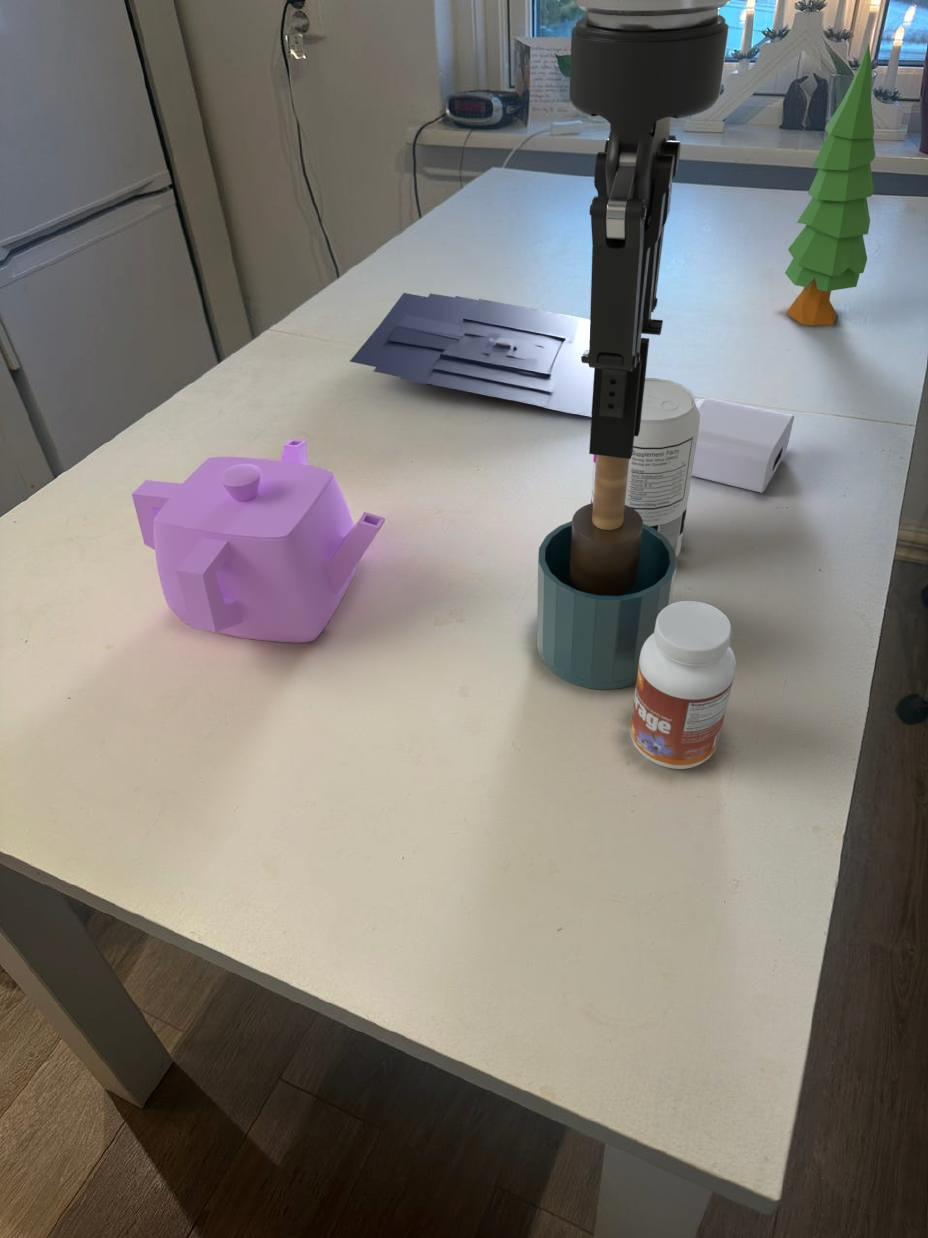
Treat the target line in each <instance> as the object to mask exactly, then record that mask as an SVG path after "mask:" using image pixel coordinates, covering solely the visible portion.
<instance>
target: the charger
mask: <svg viewBox="0 0 928 1238" xmlns="http://www.w3.org/2000/svg"><path fill="white" fill-rule="evenodd" d="M695 404H696V406H697V408H698V411H699V413H700V415H701V416H700V424H699V431H698V437H697V444H696V451H695V457H694V464H693V470H692V477H695V478H699V479H703V480H708V481H711V482H715V483H716V482H717V483H719V484H720V483H721V484H725V485H728V486H733V487H735V488H736V487H737V488H741V489H743V490H748V491H752V492H756V493H759V494H760V493H761V494H763V493H764V492H765V490H766V488H767V487H768V485H769V483H770V481H772V478H773V476H774V475H775V473H776V471H777V469H778V468H779V466H780V464H781V462H782V460H783V458H784V456H785V455H786V451H787V450H788V446H789V441H790V437H791V432H792V429H793V425H794V421H795V415H793V414H789V413H785V412H784V413H783V412H779V411H774V410H769V409H765V408H760V407H755V406H750V405H745V404H741V403H736V402H732V401H727V400H722V399H717V398H713V397H706V398H703V399H701V400H697V401H695Z"/></svg>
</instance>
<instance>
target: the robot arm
mask: <svg viewBox="0 0 928 1238" xmlns="http://www.w3.org/2000/svg"><path fill="white" fill-rule="evenodd" d="M731 1H732V0H573V2H574V4H575V5H576V7H577V8H578V9H579V10H581V11H584V12H585V15H586V16H585V17H581V18H580V19H578V20H577V22H576V23H575V26H574V27H572V29H571V36H570V37H571V39H570V67H569V68H570V69H569V101H570V102H571V104H572V106H573V107H574V108H575V109H576V110H577V111H579V112H581V113H582V114H585V115H587V116H590V117H601V118H603V119H605V120H606V121H607V122H608V123H609V125H610V126H609V127H610V128H609V129H610V131H609V135H608V138H607V139H606V141H605V145H604V151H598V152H597V154H596V158H595V164H594V165H595V167H594V177H593V183H594V185H593V186H594V188H595V190H596V192H597V195H596V196H595V195H594V196H593V198H592V201H591V204H590V205H589V216H590V224H591V225H590V226H591V244H592V250H591V280H590V281H591V282H590V315H589V320H590V343H589V349H586V350H585V351H584V353H583V355H582V363H588V365H589V367H592V368H594V383H593V400H592V416H591V417H590V419H591V420H590V432H589V433H590V434H589V449H588V450H589V451H588V454H589V455H593V456H594V455H602V456H610V457H618V458H626V459H631V456H632V453H633V444H634V436H638V435H639V432H640V424H641V414H642V405H643V395H644V385H645V378H646V375H647V364H648V356H649V355H648V354H649V347H650V338H648V337H642V334H644V335H653V336H661V334H662V329H663V324H664V323H663V322H664V320H663V319H656V318H655V319H654V318H652V313H654V312H655V310H656V308H657V306H658V298H657V293H658V283H659V275H660V268H661V258H662V251H663V241H664V232H665V226H666V223H667V220H668V218H669V214H670V211H671V210H670V209H671V200H672V190H673V181H674V180H673V179H674V178H675V176H676V173H677V171H678V168H679V165H680V156H681V147H682V145H681V144H682V143H681V141H680V140H677V135H675V134H671V133H670V132H671V123H672V122H671V121H672V118H673V119H677V120H678V119H683V118H689V117H693V116H695V115H699V114H701V113H704V112H706V111H707V110H709V109H711V108H712V107H713V106H714V105H715V104H716V103H717V101H718V100H719V98H720V94H721V89H722V81H723V75H724V74H723V73H724V67H725V58H726V52H727V43H728V37H729V28H730V26H729V24H728V23H726V18H725V17H724V16H723V15H721V14H720V9H721V8H724V7H725V6H726V5H727V4H728V3H730V2H731ZM642 318H643V323H642ZM641 327H642V334H641ZM640 336H641V344H640ZM639 346H640V353H639Z"/></svg>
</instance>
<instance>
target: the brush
mask: <svg viewBox="0 0 928 1238" xmlns="http://www.w3.org/2000/svg"><path fill="white" fill-rule="evenodd" d="M642 323H643V318H642ZM641 338H642V327H641V336H640V344H641ZM639 353H640V346H639ZM628 468H629V459H626V458H618V457H610V456H602V455H596V468H595V483H594V498H593V503H591V502H590V503H588V504H585V505H583V506H581V507H579V508H578V509H577V510H576V511H575V513H574V514H573V516H572V520H571V521H572V536H571V556H570V579H571V581H572V583H573V584H574V586H575V587H576V588H578V589H579V590H580V591H582V592H585V593H590V594H594V595H599V596H618V595H621V594H624V593H626V592H627V591H629V590H630V589H631V588H632V587H633V586H634V585H635V583H636V581H637V573H638V564H639V556H640V547H641V539H642V530H643V520H642V518H641V516H640V514H639V513H638V512H637V511H636V510H634V509H633V508H631V507H629V506H627V505H625V499H626V488H627V478H628Z"/></svg>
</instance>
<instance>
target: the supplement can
mask: <svg viewBox="0 0 928 1238" xmlns="http://www.w3.org/2000/svg"><path fill="white" fill-rule="evenodd" d="M695 402H696V397H695V396H694V393H693V392H692V390H690V389H689V388H687V387H686V386H684V385H683V384H681V383H678V382H674V381H672V380H670V379H664V378H657V377H645V385H644V395H643V405H642V414H641V424H640V432H639V435H638V436H634V444H633V453H632V456H631V459H629V468H628V478H627V488H626V499H625V505H627V506H629V507H631V508H633V509H634V510H636V511H637V512H638V513H639V514H640V516H641V518H642V520H643V524H645V525H647V526H650V527H652V528H654V529H655V530H657V531H658V532H659V533H661V534H662V535H663V536H664V537H666V538H667V539H668V541H669V542H670V544H671V545H672V547H673V548H674V550H675V552H676V558H677V557H678V556H679V555H680V554H681V549H682V548H681V547H682V541H683V535H684V529H685V523H686V515H687V510H688V509H687V508H688V503H689V495H690V489H691V482H692V477H693V476H692V470H693V464H694V457H695V451H696V444H697V437H698V431H699V424H700V416H701V415H700V413H699V411H698V408H697V406H696V404H695ZM592 460H593V461H592V477H591V490H590V491H591V492H590V504H591V503H593V498H594V483H595V468H596V455H594V454H593V459H592Z"/></svg>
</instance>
